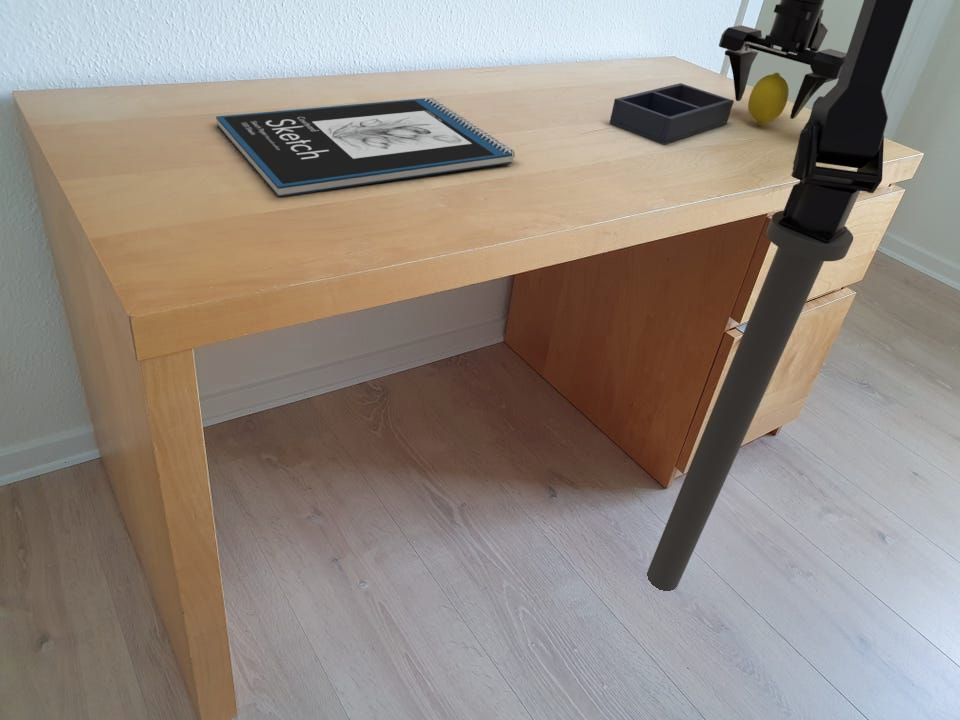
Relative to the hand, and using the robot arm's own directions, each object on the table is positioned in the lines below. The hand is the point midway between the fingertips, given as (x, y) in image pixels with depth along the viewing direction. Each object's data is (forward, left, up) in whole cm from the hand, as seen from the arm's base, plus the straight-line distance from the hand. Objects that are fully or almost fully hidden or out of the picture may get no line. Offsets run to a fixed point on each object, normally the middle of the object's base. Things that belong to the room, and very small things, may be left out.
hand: (764, 109), depth 111 cm
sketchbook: (+23, +60, -3) cm, 64 cm away
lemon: (0, 0, -3) cm, 3 cm away
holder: (+8, +14, -2) cm, 16 cm away
